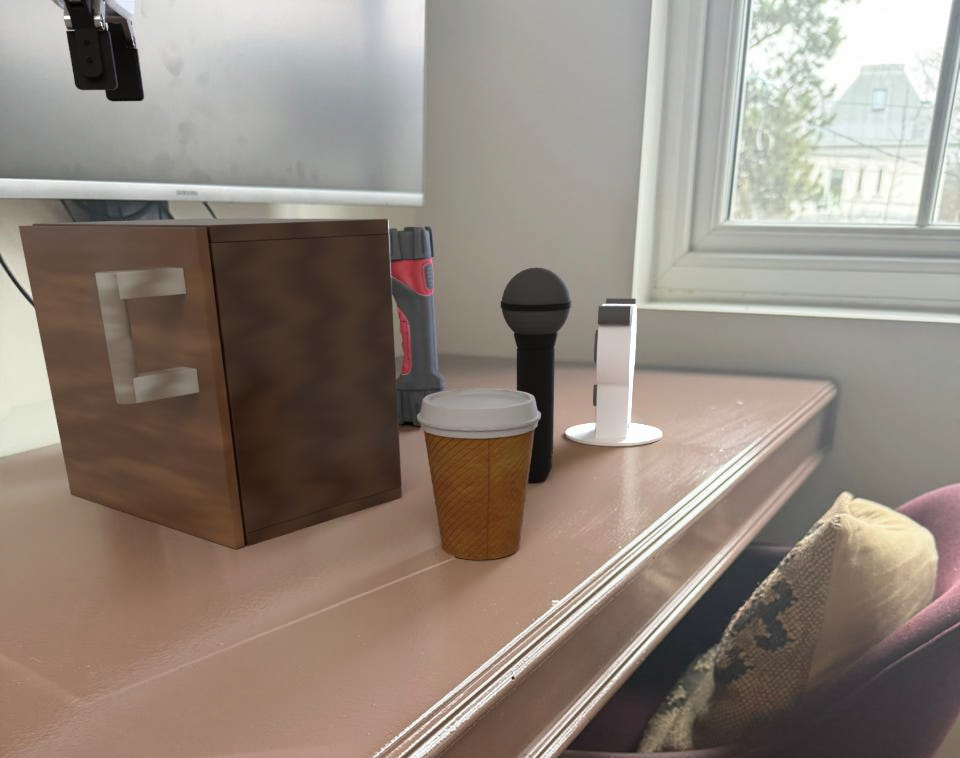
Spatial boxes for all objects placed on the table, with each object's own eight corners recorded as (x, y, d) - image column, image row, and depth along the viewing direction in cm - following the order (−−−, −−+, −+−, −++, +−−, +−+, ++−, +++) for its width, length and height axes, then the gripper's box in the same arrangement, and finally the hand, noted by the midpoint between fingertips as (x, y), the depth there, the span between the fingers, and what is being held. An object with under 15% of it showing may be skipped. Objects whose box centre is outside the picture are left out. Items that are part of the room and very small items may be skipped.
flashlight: (374, 418, 126) (363, 226, 117) (432, 413, 128) (425, 225, 119) (388, 430, 119) (377, 228, 110) (448, 424, 122) (443, 226, 112)
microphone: (574, 486, 95) (580, 268, 87) (508, 490, 94) (507, 270, 86) (558, 469, 101) (562, 264, 92) (496, 473, 100) (494, 266, 92)
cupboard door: (166, 571, 74) (113, 230, 64) (5, 509, 90) (-58, 228, 80) (245, 546, 79) (206, 227, 69) (80, 492, 95) (29, 225, 85)
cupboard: (248, 547, 80) (209, 225, 69) (82, 492, 95) (31, 223, 85) (402, 498, 92) (388, 218, 82) (233, 457, 108) (204, 218, 98)
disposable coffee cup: (444, 525, 84) (439, 385, 79) (551, 534, 82) (553, 389, 77) (405, 561, 76) (397, 407, 71) (522, 572, 73) (523, 413, 68)
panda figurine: (572, 422, 122) (575, 296, 116) (663, 425, 120) (671, 297, 113) (559, 444, 111) (562, 307, 105) (660, 447, 109) (668, 307, 103)
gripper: (56, -125, 82) (93, 105, 89) (-19, -201, 67) (33, 85, 74) (147, -124, 83) (176, 104, 90) (94, -199, 67) (134, 84, 74)
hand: (112, 95), depth 82 cm, fingers open, 9 cm apart
